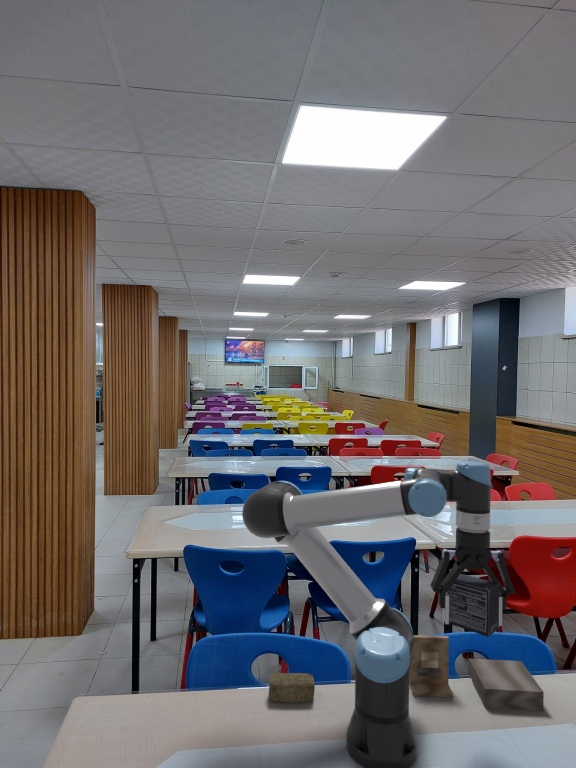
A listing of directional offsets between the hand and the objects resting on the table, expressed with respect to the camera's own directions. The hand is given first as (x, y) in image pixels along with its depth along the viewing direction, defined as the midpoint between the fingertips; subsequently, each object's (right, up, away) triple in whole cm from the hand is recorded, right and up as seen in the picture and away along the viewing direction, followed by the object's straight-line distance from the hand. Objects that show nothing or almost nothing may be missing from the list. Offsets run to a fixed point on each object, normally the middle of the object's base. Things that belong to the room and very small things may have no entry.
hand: (471, 622), depth 118 cm
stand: (-6, -24, +14) cm, 28 cm away
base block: (+13, -25, +13) cm, 31 cm away
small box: (0, -1, 0) cm, 1 cm away
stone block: (-42, -24, +10) cm, 49 cm away
